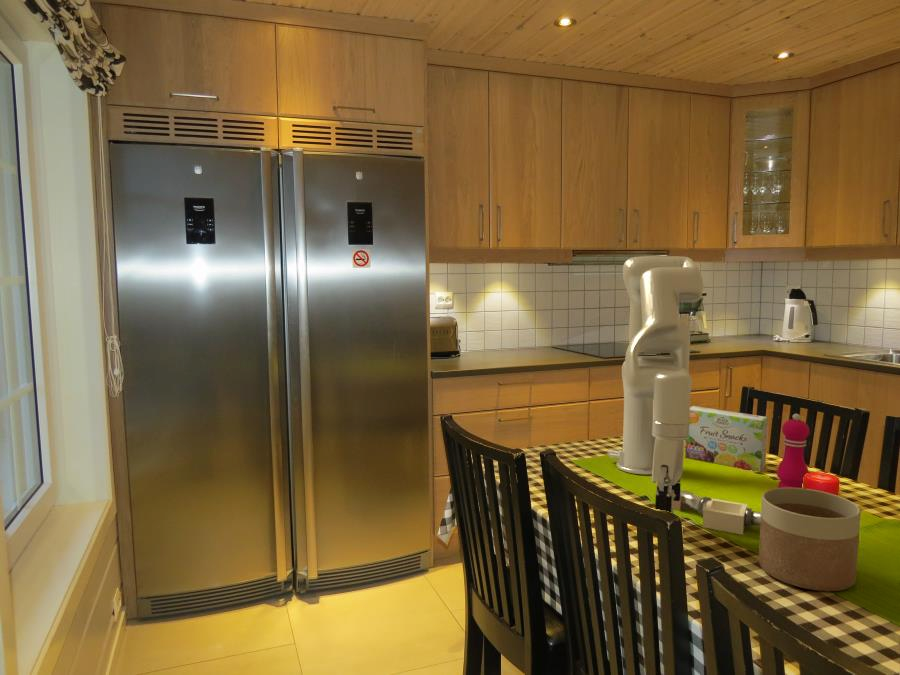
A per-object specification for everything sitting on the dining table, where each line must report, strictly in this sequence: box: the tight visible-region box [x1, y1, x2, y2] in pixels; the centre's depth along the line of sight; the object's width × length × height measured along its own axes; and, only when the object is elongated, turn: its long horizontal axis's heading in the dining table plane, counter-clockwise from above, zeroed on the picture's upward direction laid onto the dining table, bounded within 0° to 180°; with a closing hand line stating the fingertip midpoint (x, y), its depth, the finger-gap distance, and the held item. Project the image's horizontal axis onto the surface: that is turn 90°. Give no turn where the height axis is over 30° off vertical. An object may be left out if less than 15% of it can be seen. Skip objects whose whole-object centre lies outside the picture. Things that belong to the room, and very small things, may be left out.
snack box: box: [684, 405, 769, 473], centre depth 188 cm, size 21×6×15 cm, turn 49°
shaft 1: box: [673, 489, 712, 515], centre depth 152 cm, size 9×4×4 cm, turn 30°
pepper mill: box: [776, 413, 810, 488], centre depth 164 cm, size 7×7×20 cm
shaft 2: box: [744, 507, 761, 528], centre depth 140 cm, size 9×4×4 cm, turn 60°
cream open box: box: [702, 498, 748, 535], centre depth 144 cm, size 8×8×4 cm
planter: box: [758, 487, 862, 592], centre depth 121 cm, size 16×16×14 cm
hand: (667, 506), depth 143 cm, fingers open, 9 cm apart
